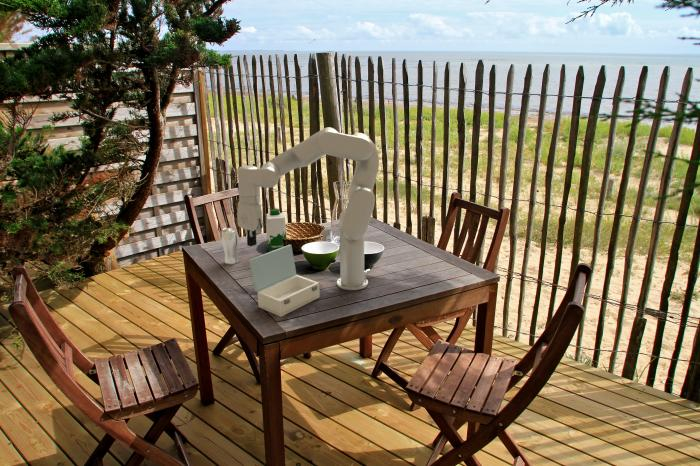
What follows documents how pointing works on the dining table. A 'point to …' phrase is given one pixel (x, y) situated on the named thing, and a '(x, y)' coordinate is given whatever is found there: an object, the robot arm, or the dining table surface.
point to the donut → (325, 233)
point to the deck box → (288, 295)
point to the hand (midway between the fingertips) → (252, 245)
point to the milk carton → (275, 229)
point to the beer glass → (230, 245)
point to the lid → (272, 267)
